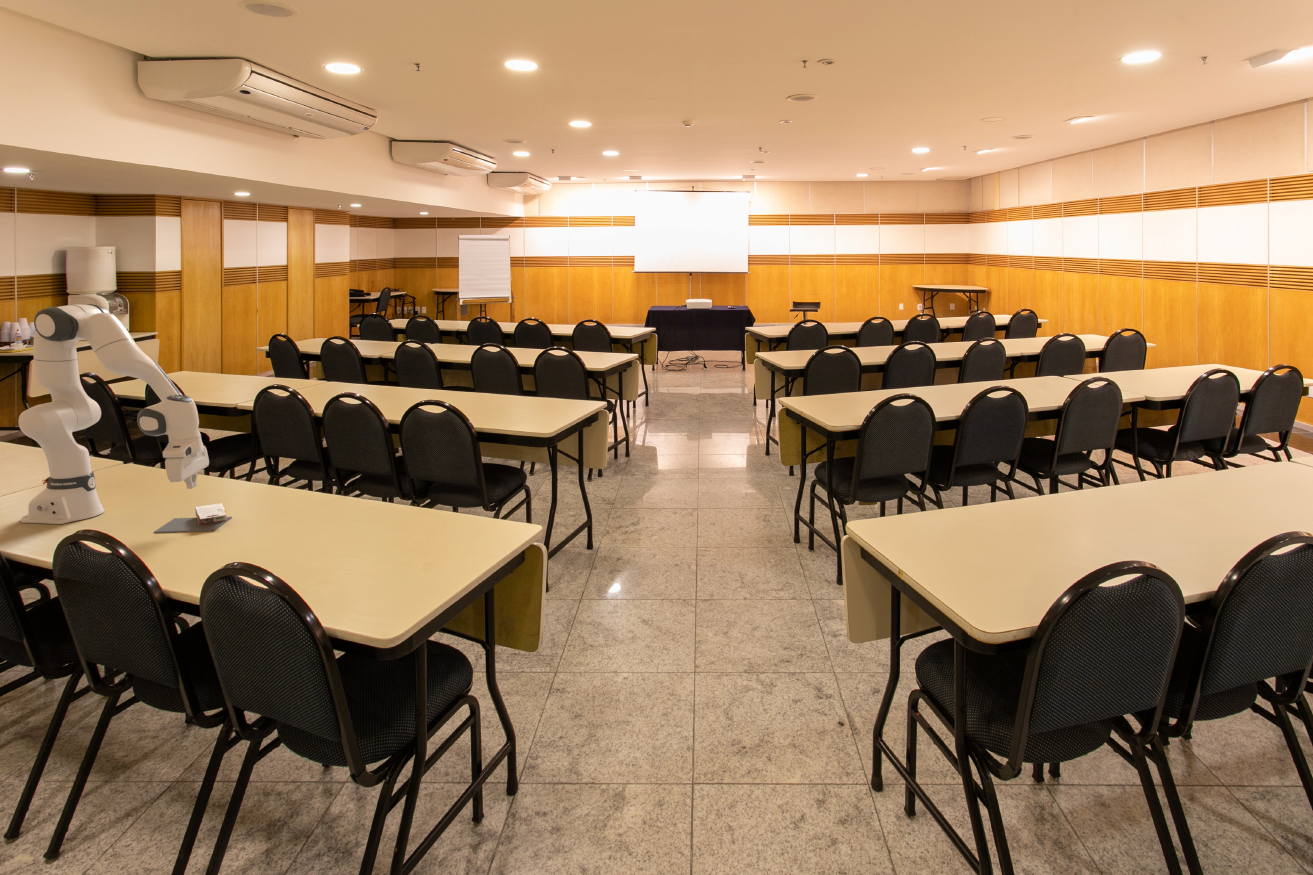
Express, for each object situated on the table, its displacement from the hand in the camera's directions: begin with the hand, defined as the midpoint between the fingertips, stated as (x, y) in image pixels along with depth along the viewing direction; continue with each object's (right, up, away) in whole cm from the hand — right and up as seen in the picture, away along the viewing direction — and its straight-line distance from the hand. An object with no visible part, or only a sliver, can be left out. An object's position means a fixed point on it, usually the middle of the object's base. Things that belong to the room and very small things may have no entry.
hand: (192, 487), depth 246 cm
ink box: (0, -8, +10) cm, 13 cm away
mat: (0, -12, +1) cm, 12 cm away
